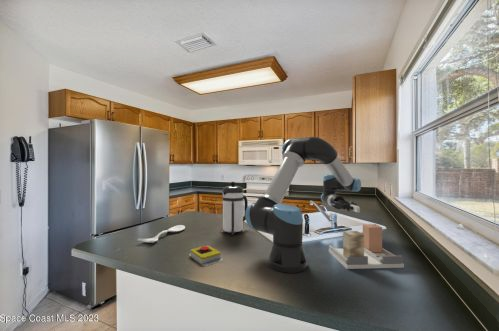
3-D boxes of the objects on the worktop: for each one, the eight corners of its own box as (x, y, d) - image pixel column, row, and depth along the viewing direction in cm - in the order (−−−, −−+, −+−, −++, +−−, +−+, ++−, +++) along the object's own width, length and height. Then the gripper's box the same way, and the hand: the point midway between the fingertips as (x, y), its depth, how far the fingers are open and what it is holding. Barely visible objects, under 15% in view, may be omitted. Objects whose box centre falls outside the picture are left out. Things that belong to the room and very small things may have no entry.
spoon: (136, 245, 113) (136, 238, 113) (175, 228, 143) (175, 222, 143) (151, 247, 110) (151, 240, 110) (188, 229, 141) (188, 224, 141)
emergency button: (206, 241, 106) (224, 251, 95) (206, 251, 106) (224, 261, 95) (188, 246, 100) (204, 256, 89) (188, 255, 100) (204, 267, 89)
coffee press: (246, 236, 127) (247, 182, 127) (218, 236, 127) (218, 182, 127) (247, 227, 144) (247, 180, 144) (222, 227, 145) (222, 180, 144)
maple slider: (349, 263, 88) (349, 234, 88) (343, 257, 93) (343, 231, 93) (364, 262, 89) (364, 234, 89) (357, 257, 94) (357, 231, 94)
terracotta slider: (368, 252, 99) (369, 227, 99) (362, 248, 104) (362, 224, 104) (382, 252, 100) (382, 227, 100) (375, 248, 105) (375, 224, 105)
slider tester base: (346, 268, 87) (346, 257, 87) (328, 252, 104) (328, 242, 104) (403, 267, 89) (403, 256, 89) (376, 251, 106) (377, 241, 106)
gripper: (347, 207, 134) (371, 217, 111) (325, 208, 133) (345, 217, 110) (347, 195, 134) (371, 201, 111) (325, 195, 133) (345, 202, 110)
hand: (358, 209), depth 110 cm, fingers closed
